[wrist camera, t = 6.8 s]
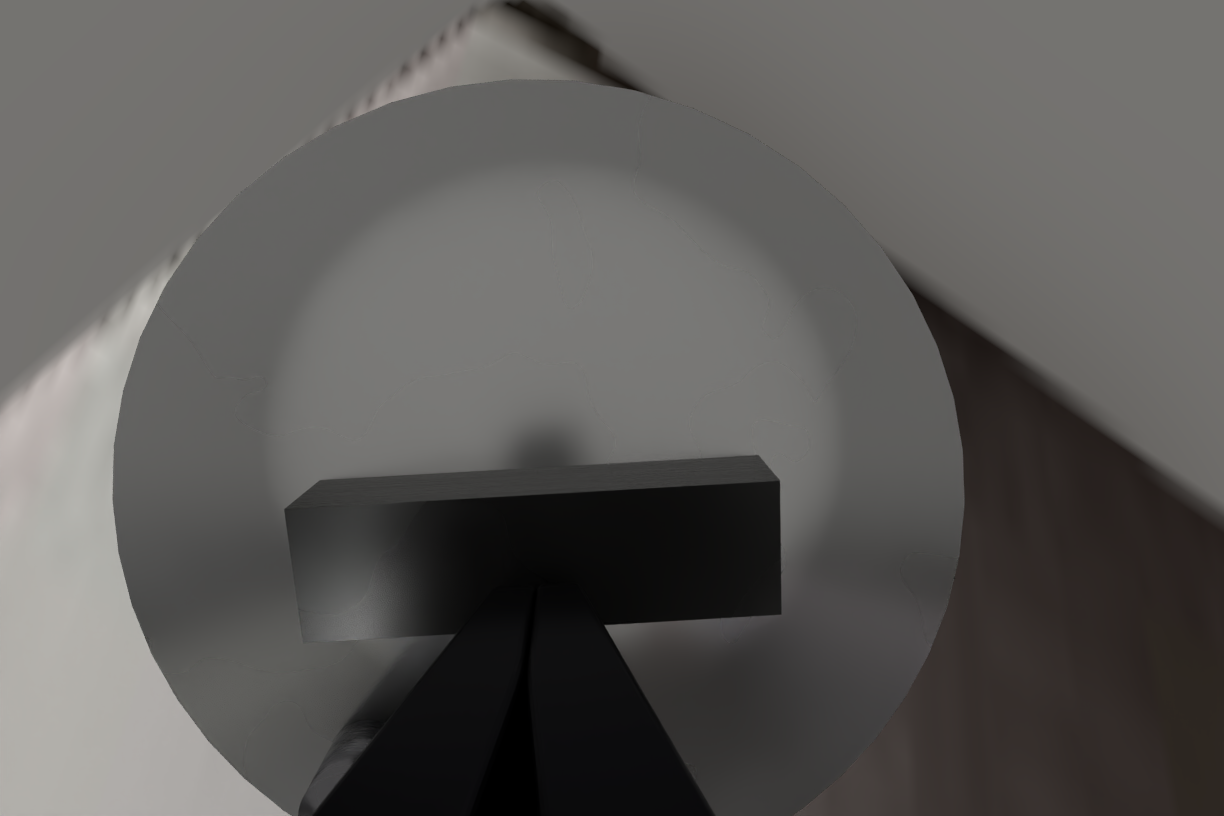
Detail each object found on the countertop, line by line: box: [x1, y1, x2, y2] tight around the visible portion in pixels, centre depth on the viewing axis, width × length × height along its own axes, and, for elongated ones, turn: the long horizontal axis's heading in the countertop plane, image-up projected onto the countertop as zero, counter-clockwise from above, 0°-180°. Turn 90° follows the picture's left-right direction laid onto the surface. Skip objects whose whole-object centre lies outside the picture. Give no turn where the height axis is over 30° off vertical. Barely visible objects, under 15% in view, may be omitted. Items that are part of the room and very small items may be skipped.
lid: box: [113, 80, 964, 816], centre depth 9 cm, size 10×9×2 cm
